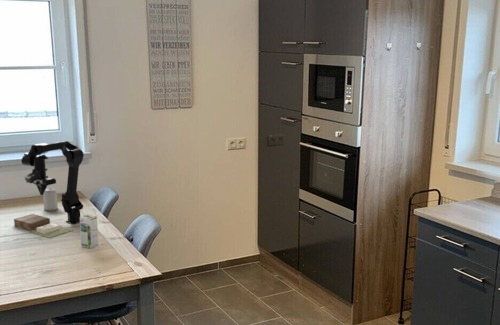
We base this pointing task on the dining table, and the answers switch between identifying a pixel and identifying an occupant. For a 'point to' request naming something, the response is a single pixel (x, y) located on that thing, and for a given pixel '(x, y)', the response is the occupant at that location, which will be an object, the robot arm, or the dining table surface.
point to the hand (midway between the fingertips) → (41, 195)
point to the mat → (53, 233)
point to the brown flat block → (31, 222)
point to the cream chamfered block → (47, 228)
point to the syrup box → (88, 231)
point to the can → (50, 199)
